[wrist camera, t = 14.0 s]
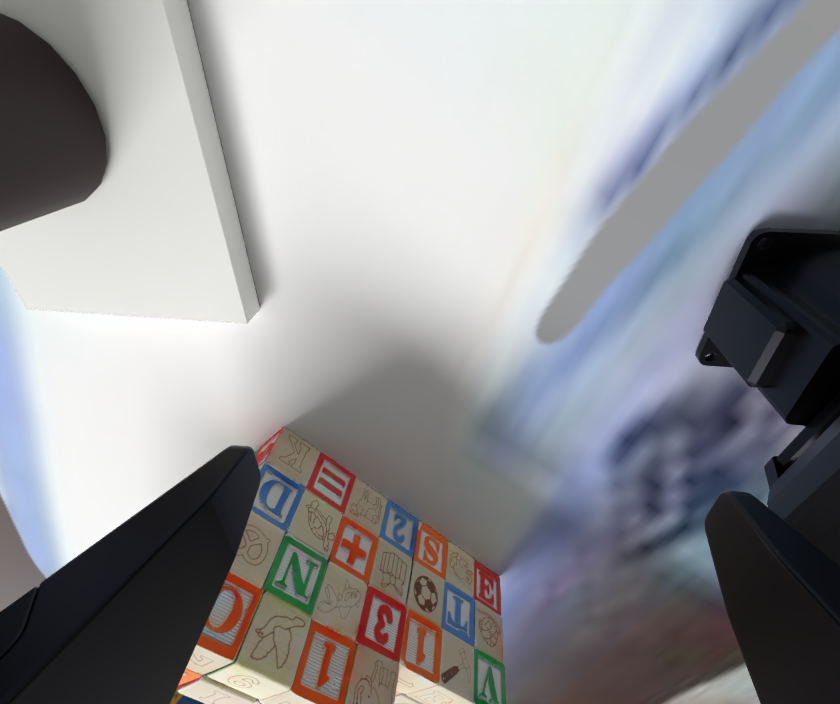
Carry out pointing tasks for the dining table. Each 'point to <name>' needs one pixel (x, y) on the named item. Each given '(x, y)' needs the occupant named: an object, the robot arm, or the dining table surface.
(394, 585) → the stack of blocks
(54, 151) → the vinegar
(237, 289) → the white flat block
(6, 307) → the dining table surface
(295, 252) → the dining table surface
